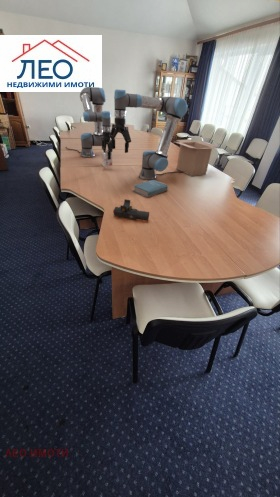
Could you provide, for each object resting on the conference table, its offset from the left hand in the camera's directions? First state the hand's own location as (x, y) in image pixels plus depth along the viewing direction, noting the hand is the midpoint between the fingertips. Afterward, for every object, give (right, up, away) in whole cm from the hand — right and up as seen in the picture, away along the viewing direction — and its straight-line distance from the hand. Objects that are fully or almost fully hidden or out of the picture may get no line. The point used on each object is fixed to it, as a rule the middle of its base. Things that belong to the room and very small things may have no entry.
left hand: (107, 158), depth 211 cm
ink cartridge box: (-1, -5, +4) cm, 6 cm away
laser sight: (+25, -67, -70) cm, 100 cm away
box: (+84, -7, +17) cm, 86 cm away
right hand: (+16, -14, -48) cm, 53 cm away
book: (+40, -40, -32) cm, 65 cm away
